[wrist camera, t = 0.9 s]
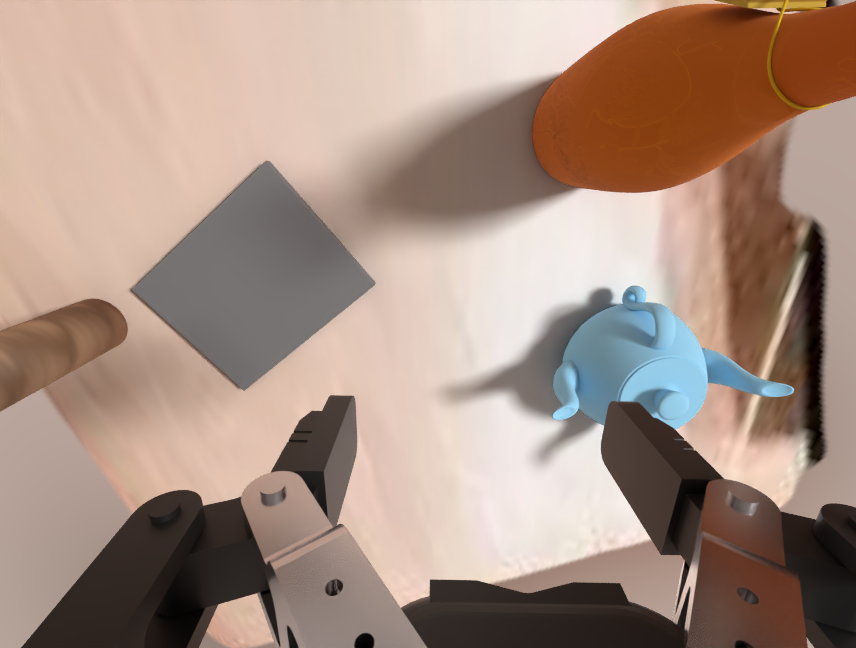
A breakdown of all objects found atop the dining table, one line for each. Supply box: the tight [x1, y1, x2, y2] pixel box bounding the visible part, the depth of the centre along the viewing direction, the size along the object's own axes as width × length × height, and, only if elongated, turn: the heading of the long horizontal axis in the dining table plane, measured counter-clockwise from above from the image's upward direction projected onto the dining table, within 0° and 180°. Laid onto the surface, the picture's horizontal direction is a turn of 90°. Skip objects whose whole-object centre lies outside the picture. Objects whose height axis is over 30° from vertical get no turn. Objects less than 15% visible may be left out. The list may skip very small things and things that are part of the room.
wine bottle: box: [532, 0, 856, 193], centre depth 21 cm, size 10×10×30 cm
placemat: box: [132, 161, 375, 391], centre depth 38 cm, size 14×18×1 cm
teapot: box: [552, 286, 794, 429], centre depth 38 cm, size 15×15×10 cm
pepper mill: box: [0, 299, 128, 411], centre depth 33 cm, size 5×5×15 cm
